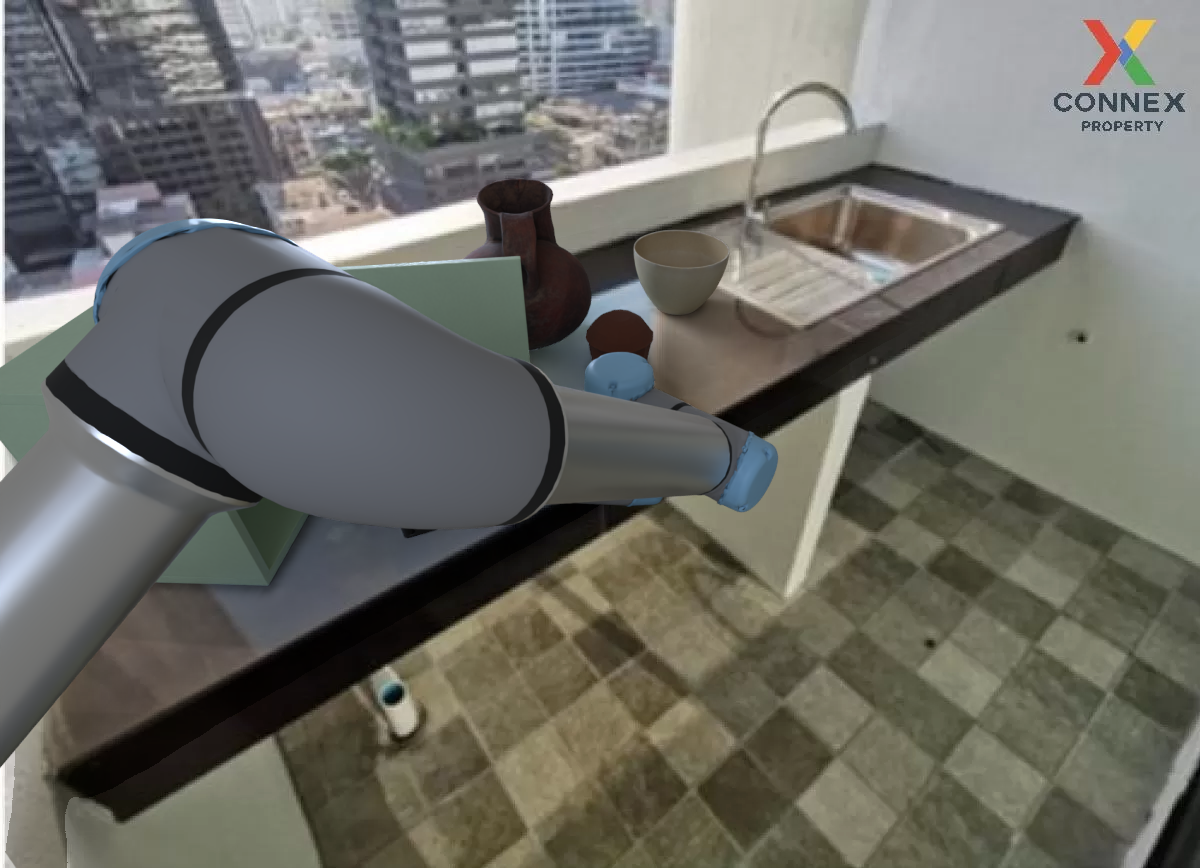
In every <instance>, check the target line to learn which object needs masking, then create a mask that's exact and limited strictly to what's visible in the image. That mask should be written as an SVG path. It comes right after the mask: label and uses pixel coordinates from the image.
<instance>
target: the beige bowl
mask: <svg viewBox="0 0 1200 868" xmlns="http://www.w3.org/2000/svg"><path fill="white" fill-rule="evenodd" d="M730 249H731V248H730V247H729V245H728V244H727V243H726V242H725V241H724V240H722V239H721V238H720V237H717V236H715V235H713V234H712V235H711V234H709V233H705V232H701V231H695V230H689V229H688V230H687V229H667V230H666V229H665V230H659V231H655V232H651V233H648V234H645V235H643V236H640V237H639V238H638V239H637V240H636V241H635V242H634V244H633V259H634V260H633V261H634V267H635V270H636V275H637V278H638V281H639V283H640V285H641V287H642V289H643V291H644V293H645V294H646V296H647V298H648V299H649V301H651V303H652V304H653V306H654V307H655V308H656V309H657V310H659V311H660V312H661V313H665V314H667V315H672V316H685V315H689V314H692V313H693V312H695V311H697V310H698V309H699V308H700V307H701V306H702V305H704V304H705V303H706V301H708V299H709V298H710V297H711V296H712V295H713V293H714V292H715V291H716V289H717V287H719V284H720V282H721V280H722V278H723V276H724V274H725V271H726V269H727V266H728V262H729V258H730V254H731V250H730Z"/></svg>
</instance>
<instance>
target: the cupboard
mask: <svg viewBox="0 0 1200 868" xmlns="http://www.w3.org/2000/svg"><path fill="white" fill-rule="evenodd" d="M94 326H95V322H94V319H93V305H92V306H89V308H87V309H85V310H84V311H83V312H81V313H79V314H78V315H76V316H75V317H74V318H72V319H70V320H69V321H67V322H65V324H63V325H62V326H60V327H59V328H57V329H55V330H54V331H53V332H51V333H49V334H48V335H47V336H44V338H42V339H41V340H39V341H38V342H35V344H33V345H31V346H30V347H29V348H27V349H26V350H24V351H23V352H21V353H19V354H18V355H17V356H15V357H13V358H12V359H10V360H9V361H8V362H6V363H4V364H3V365H1V366H0V442H1V444H3V446H4V448H5V449H6V450H7V451H8V452H9V454H10V455H11V456H12V457H13V458H14V459H15V461H16V462H17V463H18V462H19V461H20V460H21V459H22V458H23V457H24V456H25V455H26V453H27V452H28V451H29V450H30V449H31V448H32V447H33V446H34V445H35V444H36V443H37V442H38V441H39V439H40V438H41V437H42V436H43V435H44V434H45V433H46V432H47V431H48V429H49V416H48V413H47V409H46V405H45V402H44V398H43V394H42V391H41V383H42V382H43V381H44V380H45V379H46V378H47V376H48V375H49V374H50V373H51V372H52V371H53V370H54V369H55V368H56V367H57V366H58V365H59V364H60V363H61V362H62V361H63V360H64V358H65V357H66V356H67V355H68V354H69V353H70V352H71V351H72V350H73V348H74V347H75V346H76V345H77V344H78V343H79V342H80V341H81V340H82V339H83V338H84V337H85V336H86V335H87V334H88V333H89V332H90V330H91V329H92V328H93V327H94ZM309 516H310V514H307V513H304V512H300V511H297V510H293V509H290V508H286V507H283V506H281V505H279V504H277V503H275V502H273V501H271V500H269V499H267V498H265V497H263V498H262V499H261V501H260V502H259V503H258V504H257V505H256V506H253V507H249V508H244V509H238V510H232V511H226V512H220V513H217V514H215V515H213V516H211V517H210V518H209V519H208V520H207V521H206V522H205V524H204V525H203V526H202V527H201V528H200V530H199V531H198V532H197V533H196V534H195V536H194V537H193V538H192V539H191V540H190V542H189V543H188V544H187V545H186V546H185V548H184V549H183V550H182V551H181V552H180V554H179V555H178V556H177V557H176V558H175V559H174V561H173V562H172V563H171V564H170V565H169V567H168V568H167V569H166V570H165V571H164V573H163V574H162V575H161V576H160V577H159V579H158V580H157V581H156V582H155V583H158V584H159V583H161V584H198V585H199V584H200V585H228V586H229V585H231V586H232V585H233V586H263V587H264V586H265V587H267V586H270V584H271V582H272V581H273V579H274V577H275V575H276V574H277V572H278V570H279V568H280V567H281V565H282V563H283V561H284V559H285V558H286V556H287V554H288V553H289V551H290V549H291V548H292V545H293V544H294V542H295V540H296V539H297V537H298V535H299V533H300V531H301V530H302V528H303V526H304V524H305V522H306V521H307V519H308V517H309Z"/></svg>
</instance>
